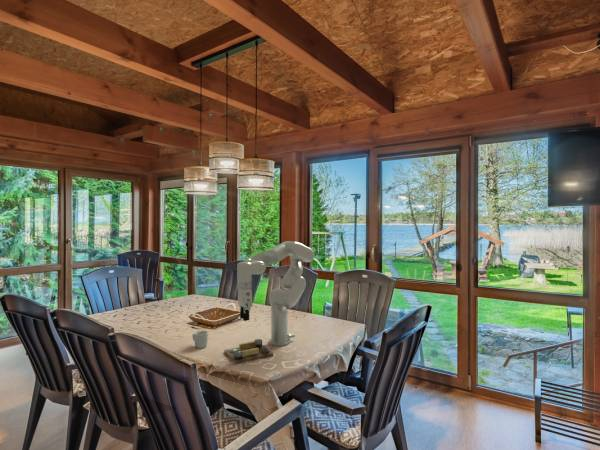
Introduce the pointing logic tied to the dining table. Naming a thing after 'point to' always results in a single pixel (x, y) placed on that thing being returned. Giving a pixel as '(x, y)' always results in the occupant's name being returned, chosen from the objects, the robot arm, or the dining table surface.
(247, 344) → the ball knob lever
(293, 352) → the dining table surface
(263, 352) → the base plate
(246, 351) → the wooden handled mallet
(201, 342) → the cup
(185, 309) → the dining table surface
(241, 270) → the robot arm
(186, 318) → the dining table surface
